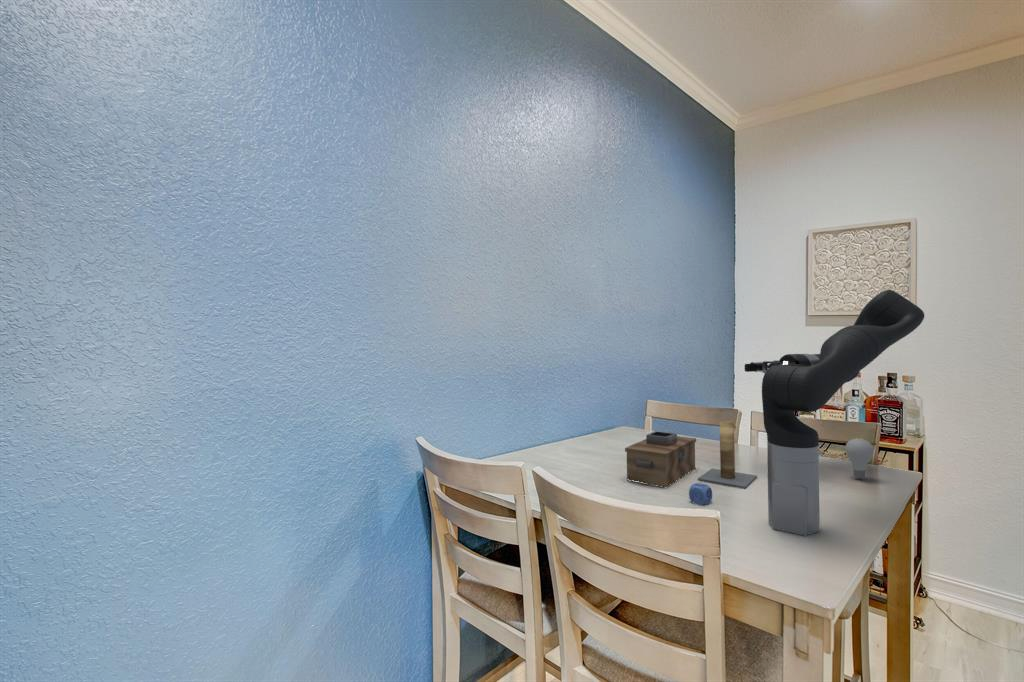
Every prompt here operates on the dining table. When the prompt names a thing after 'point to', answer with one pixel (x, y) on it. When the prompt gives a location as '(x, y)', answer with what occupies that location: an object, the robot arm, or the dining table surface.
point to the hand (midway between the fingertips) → (758, 368)
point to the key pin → (727, 449)
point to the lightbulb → (859, 455)
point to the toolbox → (660, 461)
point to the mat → (739, 480)
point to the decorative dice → (700, 493)
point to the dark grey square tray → (661, 438)
